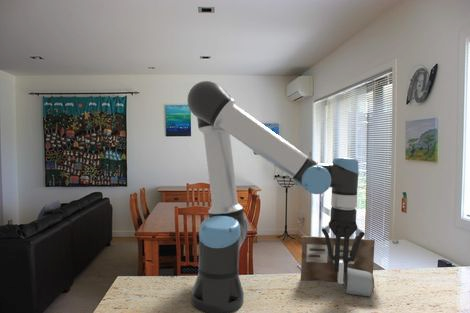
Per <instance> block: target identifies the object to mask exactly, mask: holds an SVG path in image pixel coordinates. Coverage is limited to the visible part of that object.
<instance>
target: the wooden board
mask: <svg viewBox="0 0 470 313" xmlns="http://www.w3.org/2000/svg"><path fill="white" fill-rule="evenodd" d="M329 238H330V243H331V248H332V252H333V255H335V240H336V238H335V236H334V237H333V236H332V237H331V236H329ZM301 239H302V243H301V265H300V268H301V269H300V281H307V282H308V281H309V282H310V281H314V282H329V283H330V282H331V283H338V280H337V278H338V272H335V269H334V266H335V261H334V260H332V259H330V257H329V253H328V248H327V243H326V239H325V236H311V235H310V236H309V235H307V236H306V235H302V238H301ZM354 239H355V237H353V238H352V237H349V251H348V256H349V255H350V252H351V249H352V246H353V243H354ZM375 241H376V240H375V239H373V238H371V239H369V238H362V239H361V241H360V244H359V247H358V250H357V253H356V256H355V259H354V261H353V262H348V265H347V268H352V269H357V270H362V271H367V272H370V273H372V275H373V276H374V262H375V261H374V259H375V258H374V257H375ZM343 247H344V237H341V241H340V260H343ZM343 283H344V273H343Z"/></svg>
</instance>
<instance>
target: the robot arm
mask: <svg viewBox="0 0 470 313" xmlns="http://www.w3.org/2000/svg"><path fill="white" fill-rule="evenodd" d="M187 94H188V95H187V107H188V109H189V110H190V112H191V113H192V115H193V116H195V117H196V118H197V119H196V120H197V126H198V131H200V132H201V133H202V135H203V139H204V140H203V141H204V147H205V156H206V163H207V164H206V166H207V175H208V180H209V181H208V182H209V189H210V198H211V206H210V208H209V209H208V211H207V212H208V217H207V218H205V219H204V220H202V222H201V223H200V226H199V230H198V237H199V238H198V242H199V243H198V270H197V271H198V274H197V276H196V279H195V282H194V285H193V287H192V291H191V299H190V300H191V302H190V303H191V304H192V306H193V307H195V308H196V309H197V310H199V311H200V312H204V313H231V312H234V311H237V310H238V309H240V308H241V307H242V306H243V305H244V298H245V297H244V290H243V287H242V283H241V279H240V276H239V267H240V264H239V262H240V250H241V248H242V245H243V243H244V242H245V239H247V235H248V229H249V228H248V223H247V220H246V218H245V214H244V213H245V212H244V206H243V205H241V204H240V203H239V201H238V193H237V184H236V183H237V182H236V177H235V176H236V175H235V167H234V158H233V150H232V141H231V136H232V137H234V138H235V139H236V140H238V141H239V142H241V143H242V144H243V145H244V146H246V147H248V148H249V149H250V150H252V151H253V152H255V153H256V154H257V155H258V156H261V158H263V159H264V160H265V161H267V162H269V163H270V164H271V165H273V166H274V167H276V168H277V169H278V170H280V171H281V172H282V173H284V174H285V175H287V176H288V177H289V178H291V179H292V180H293V184H294V185H295V186H298V187H302V188H303V189H304V190H306V191H307V192H309V193H310V194H313V195H320V194H324V193H326V192H327V191H328V190H329V189H330V188H331V199H330V200H331V202H330V203H331V207H330V220H329V222H328V225H326V226H322V227H321V233H322V234H323V235H324V237H325V239H326V243H327V248H328V253H329V257H330V259H332V260H334V261H335V266H334V269H335V272H338V278H337V280H338V282H337V284H340V285H344V282H343V273H347V265H348V262H353V261H354V259H355V256H356V253H357V250H358V247H359V244H360V241H361V239H364V238H363V237H364V236H365V232H364V230H362V229H360V228H359V227H358V225H357V209H356V208H357V206H358V184H359V175H360V173H359V161H358V159H357V158H354V157H334V158H333V160H332V163H331V162H330V163H323V162H322V163H321V162H316V161H315V160H314V159H312V157H309V156H308V155H306V154H305V153H304V152H302V151H301V150H299V149H298V148H296V147H295V146H294V145H292V144H291V143H289V142H288V141H287V140H285V139H284V138H282V137H281V136H280V135H278V134H276V132H274V131H272V130H271V129H270V128H269V127H267V126H265V125H264V124H263V123H261V122H260V121H258V120H257V119H255V118H254V117H253V116H251V115H250V114H249V113H247V112H245V110H243V109H242V108H240V107H238V106H237V105H236V101H235V100H234V99H233V98H232V96H230V94H229V93H228V92H227V91H226V90H225V89H223V88H222V87H221V86H220V85H219V84H217V83H216V82H213V81H210V80H209V81H208V80H207V81H206V80H204V81H199V82H198V83H196V84H194V85H193V86H192V87H191V89H190V90H189V91H188V93H187ZM330 230H331V232H332V233H333V234H334V238H336V240H335V255H333V252H332V248H331V243H330V238H329V237H330ZM354 233H355V236H354V238H355V239H354V243H353V246H352V249H351V252H350V255H349V256H348V251H349V238H352V236H353V235H354ZM341 238H344V247H343V260H340V241H341Z"/></svg>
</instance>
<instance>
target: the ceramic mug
mask: <svg viewBox="0 0 470 313" xmlns="http://www.w3.org/2000/svg"><path fill="white" fill-rule="evenodd" d="M374 291H375V277H374V274H373V275H372V273H370V272H367V271H362V270H357V269H352V268H347V273H344V282H343V292H344V293H345V294H348V295H355V296H364V297H371V296H372V295H373V294H374Z"/></svg>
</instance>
